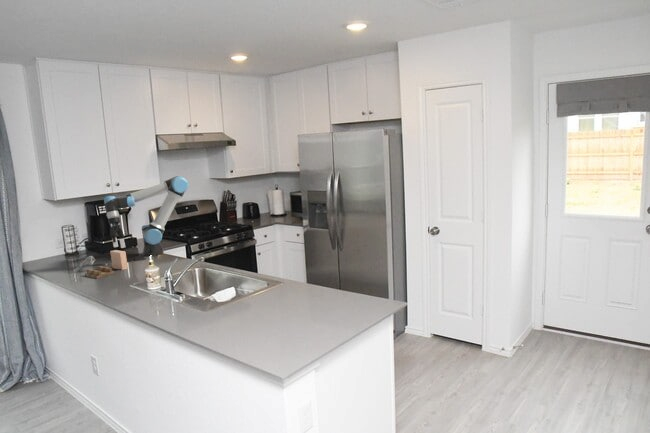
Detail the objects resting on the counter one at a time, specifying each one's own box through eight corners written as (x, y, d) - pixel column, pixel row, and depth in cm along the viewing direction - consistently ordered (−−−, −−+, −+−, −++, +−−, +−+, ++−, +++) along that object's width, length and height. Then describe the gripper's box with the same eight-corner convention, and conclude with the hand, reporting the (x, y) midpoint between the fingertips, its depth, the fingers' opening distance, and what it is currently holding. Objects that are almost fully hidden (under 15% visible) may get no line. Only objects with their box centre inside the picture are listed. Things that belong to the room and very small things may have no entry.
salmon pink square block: (112, 268, 319) (110, 251, 317) (118, 266, 322) (115, 250, 320) (122, 269, 312) (119, 252, 310) (127, 268, 315) (125, 251, 313)
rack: (85, 275, 303) (84, 270, 302) (102, 271, 313) (101, 265, 312) (97, 278, 294) (96, 272, 294) (114, 273, 304) (113, 267, 303)
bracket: (95, 260, 336) (90, 250, 330) (81, 281, 319) (75, 270, 313) (91, 261, 336) (86, 250, 330) (77, 281, 319) (71, 270, 313)
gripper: (115, 220, 335) (121, 249, 334) (100, 217, 311) (107, 247, 309) (125, 218, 336) (131, 246, 334) (112, 214, 311) (118, 245, 310)
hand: (119, 247), depth 322 cm, fingers open, 13 cm apart
